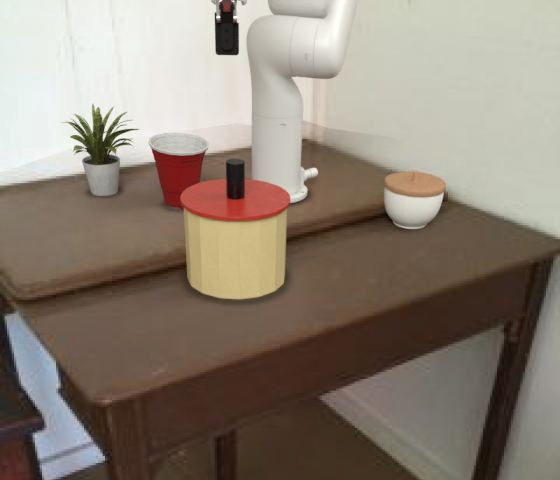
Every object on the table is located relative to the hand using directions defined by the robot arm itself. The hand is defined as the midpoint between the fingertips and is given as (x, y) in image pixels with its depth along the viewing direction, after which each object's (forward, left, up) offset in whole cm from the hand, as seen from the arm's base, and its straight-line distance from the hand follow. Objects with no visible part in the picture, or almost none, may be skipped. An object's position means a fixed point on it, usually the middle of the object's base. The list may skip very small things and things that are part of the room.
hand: (226, 48), depth 101 cm
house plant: (+5, -34, -31) cm, 46 cm away
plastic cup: (-4, -20, -31) cm, 37 cm away
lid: (+7, +11, -18) cm, 22 cm away
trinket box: (-32, +12, -31) cm, 46 cm away
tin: (+7, +11, -30) cm, 33 cm away
